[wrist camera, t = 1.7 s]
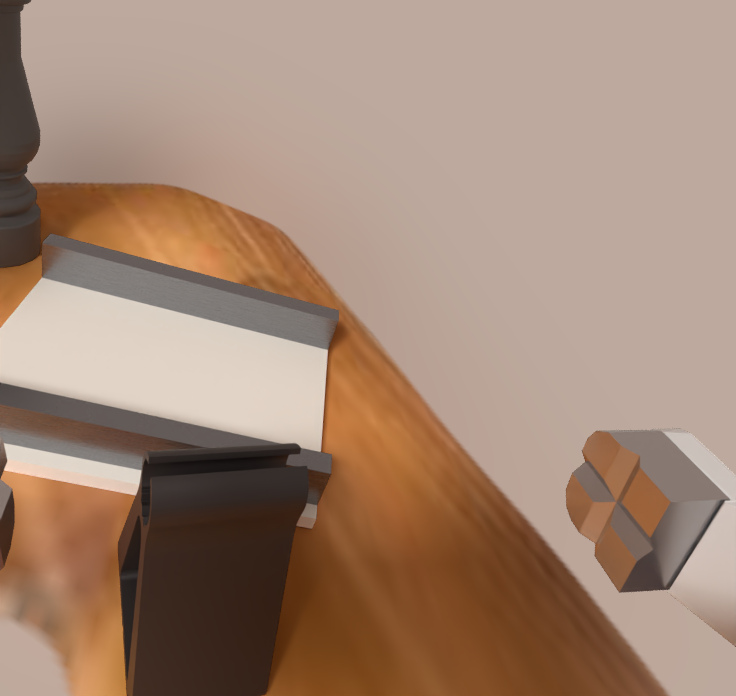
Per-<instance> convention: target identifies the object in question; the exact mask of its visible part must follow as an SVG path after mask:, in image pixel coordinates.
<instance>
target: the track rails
mask: <svg viewBox="0 0 736 696" xmlns="http://www.w3.org/2000/svg"><path fill="white" fill-rule="evenodd" d="M42 278H45V279H49V280H53V281H57V282H61V283H65V284H69V285H73V286H77V287H81V288H85V289H89V290H93V291H97V292H101V293H105V294H108V295H112V296H116V297H120V298H124V299H128V300H132V301H136V302H140V303H144V304H148V305H152V306H156V307H160V308H164V309H168V310H172V311H176V312H180V313H184V314H187V315H191V316H195V317H199V318H203V319H207V320H211V321H215V322H219V323H223V324H227V325H231V326H235V327H239V328H243V329H247V330H251V331H255V332H259V333H263V334H266V335H270V336H274V337H278V338H282V339H286V340H290V341H294V342H298V343H302V344H306V345H310V346H314V347H318V348H322V349H326V350H328V348H329V346H330V343H331V340H332V337H333V335H334V332H335V329H336V326H337V324H338V320H339V310H335V309H331V308H327V307H324V306H320V305H316V304H313V303H309V302H305V301H301V300H298V299H294V298H290V297H286V296H283V295H279V294H275V293H272V292H268V291H264V290H260V289H257V288H253V287H249V286H245V285H242V284H238V283H234V282H230V281H227V280H223V279H219V278H216V277H212V276H208V275H204V274H201V273H197V272H193V271H189V270H186V269H182V268H178V267H174V266H171V265H167V264H163V263H160V262H156V261H152V260H148V259H145V258H141V257H137V256H133V255H130V254H126V253H122V252H119V251H115V250H111V249H107V248H104V247H100V246H96V245H92V244H89V243H85V242H81V241H77V240H74V239H70V238H66V237H63V236H59V235H55V234H50V235H49V236H48V237H47V238H46V239H45V240H44V241H43V242H42ZM0 437H1V438H2V439H3V442H4V443H6V444H11V445H16V446H21V447H26V448H31V449H36V450H41V451H46V452H51V453H56V454H61V455H66V456H71V457H76V458H81V459H86V460H91V461H96V462H101V463H106V464H112V465H117V466H122V467H127V468H132V469H137V470H141V469H142V461H143V456H144V453H145V451H159V450H177V449H195V448H213V447H232V446H250V445H268V444H281V443H276V442H272V441H267V440H263V439H258V438H253V437H249V436H244V435H240V434H235V433H230V432H226V431H221V430H217V429H212V428H207V427H203V426H198V425H194V424H189V423H184V422H180V421H175V420H171V419H166V418H161V417H157V416H152V415H148V414H143V413H138V412H134V411H129V410H124V409H120V408H115V407H111V406H106V405H101V404H97V403H92V402H88V401H83V400H78V399H74V398H69V397H65V396H60V395H55V394H51V393H46V392H42V391H37V390H32V389H28V388H23V387H19V386H14V385H9V384H5V383H0ZM331 464H332V454H327V453H322V452H318V451H313V450H309V449H304V448H301V451H300V454H293V455H289V456H288V459H287V463H286V467H296V466H307V468H308V478H309V490H308V499H307V503H308V504H313V505H318V502H319V500H320V498H321V496H322V493H323V491H324V489H325V486H326V484H327V482H328V480H329V477H330V475H331Z"/></svg>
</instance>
